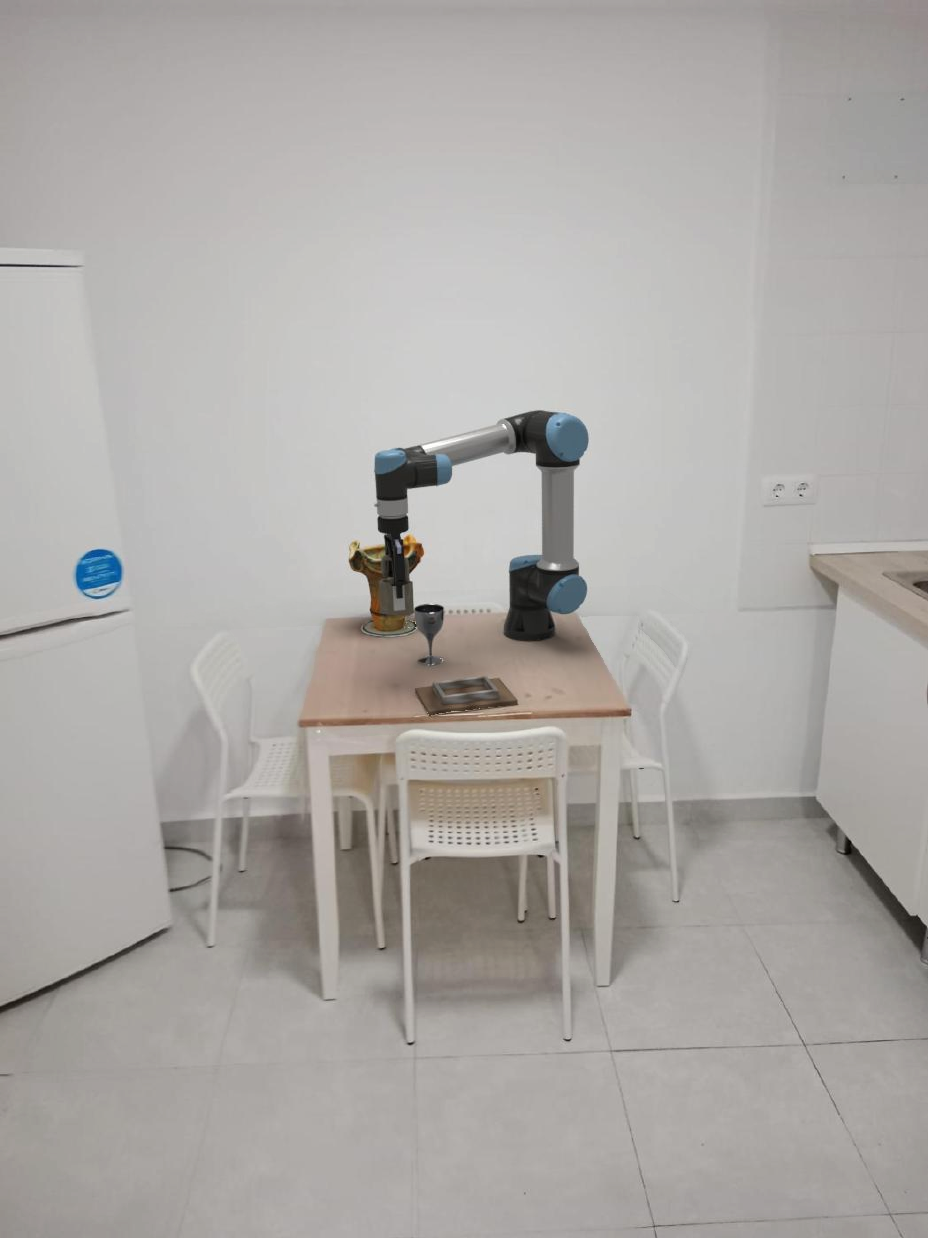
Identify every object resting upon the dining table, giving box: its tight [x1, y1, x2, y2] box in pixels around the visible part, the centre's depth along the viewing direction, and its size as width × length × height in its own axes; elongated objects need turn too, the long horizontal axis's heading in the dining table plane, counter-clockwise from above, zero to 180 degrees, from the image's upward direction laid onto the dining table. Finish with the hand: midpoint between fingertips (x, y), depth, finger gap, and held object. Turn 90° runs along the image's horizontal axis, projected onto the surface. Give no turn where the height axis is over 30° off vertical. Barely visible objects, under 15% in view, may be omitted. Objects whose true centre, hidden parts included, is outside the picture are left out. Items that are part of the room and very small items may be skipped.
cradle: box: [414, 675, 519, 717], centre depth 231 cm, size 22×15×3 cm
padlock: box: [379, 555, 415, 617], centre depth 234 cm, size 4×8×15 cm, turn 70°
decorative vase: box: [348, 534, 425, 638], centre depth 279 cm, size 21×23×28 cm
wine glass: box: [413, 603, 445, 666], centre depth 254 cm, size 8×8×15 cm
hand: (397, 605), depth 236 cm, fingers closed on padlock, 6 cm apart
